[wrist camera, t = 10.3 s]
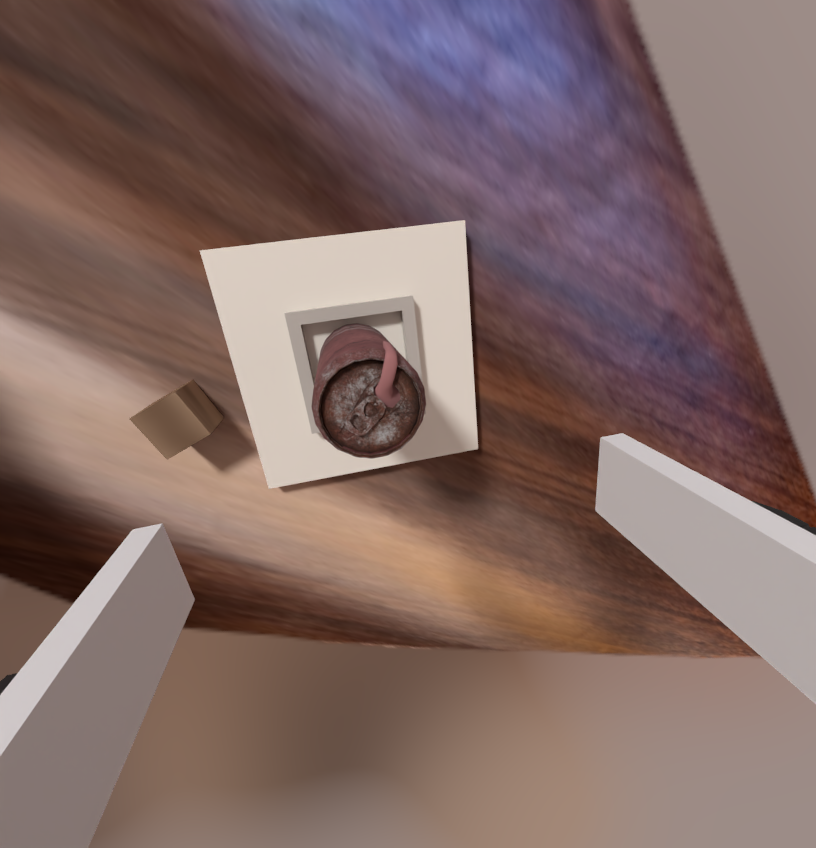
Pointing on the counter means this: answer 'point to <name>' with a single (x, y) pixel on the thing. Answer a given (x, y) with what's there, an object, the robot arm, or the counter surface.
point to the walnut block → (178, 419)
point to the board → (333, 308)
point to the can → (366, 393)
